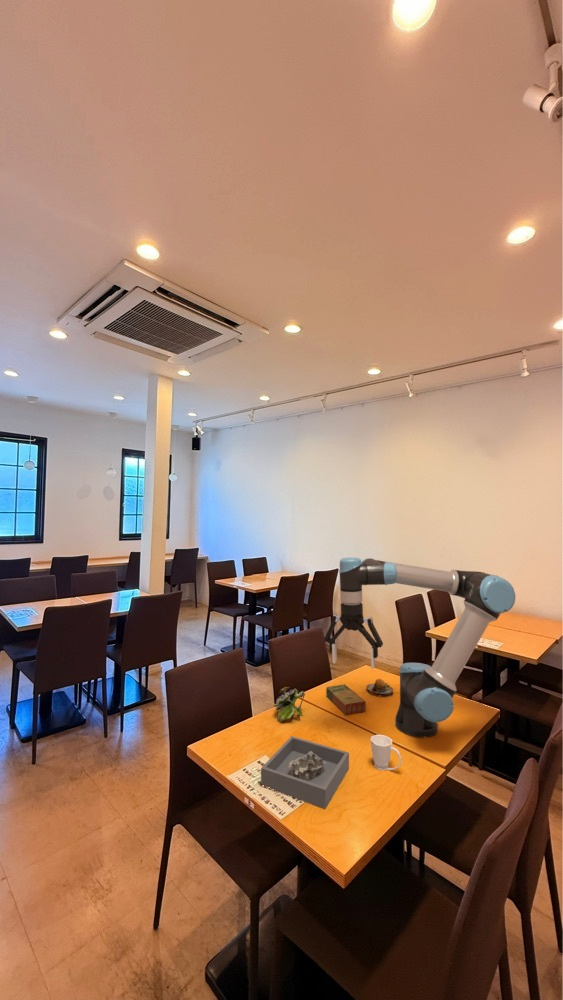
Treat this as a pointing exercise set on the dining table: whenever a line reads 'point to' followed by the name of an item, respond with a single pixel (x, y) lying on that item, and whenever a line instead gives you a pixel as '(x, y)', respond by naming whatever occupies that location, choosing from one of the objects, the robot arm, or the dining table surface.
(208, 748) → the dining table surface
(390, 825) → the dining table surface
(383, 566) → the robot arm
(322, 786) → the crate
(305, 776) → the egg carton
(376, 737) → the cup
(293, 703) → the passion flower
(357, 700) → the carton
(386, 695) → the brown food dish
